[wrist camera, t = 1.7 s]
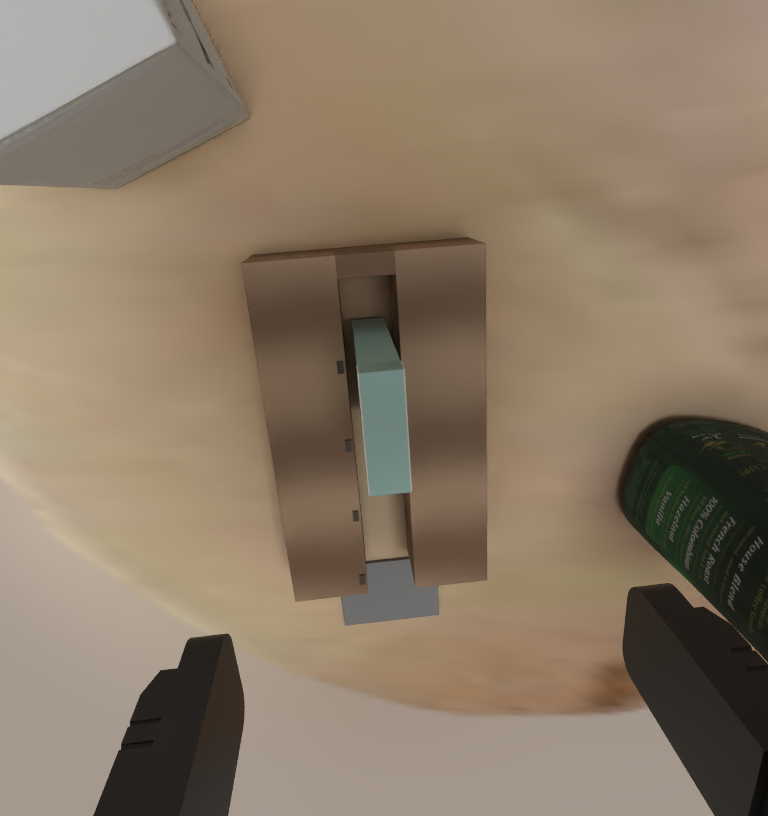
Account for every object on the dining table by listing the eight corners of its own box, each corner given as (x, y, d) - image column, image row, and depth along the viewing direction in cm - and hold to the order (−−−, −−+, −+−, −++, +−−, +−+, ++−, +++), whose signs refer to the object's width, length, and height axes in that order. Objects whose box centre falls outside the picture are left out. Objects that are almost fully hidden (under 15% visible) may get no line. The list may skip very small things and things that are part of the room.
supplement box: (256, 119, 25) (187, 53, 13) (113, 192, 26) (-73, 192, 14) (164, -69, 22) (-22, -356, 11) (7, 19, 23) (-332, -163, 11)
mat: (338, 564, 34) (338, 566, 34) (435, 554, 34) (436, 556, 34) (345, 623, 36) (345, 625, 35) (438, 612, 36) (438, 614, 36)
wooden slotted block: (252, 255, 27) (240, 263, 24) (467, 237, 28) (485, 243, 24) (299, 562, 34) (295, 602, 30) (472, 543, 34) (487, 581, 31)
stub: (350, 320, 28) (357, 373, 20) (384, 317, 28) (405, 369, 20) (359, 412, 30) (368, 496, 22) (390, 409, 30) (412, 492, 22)
